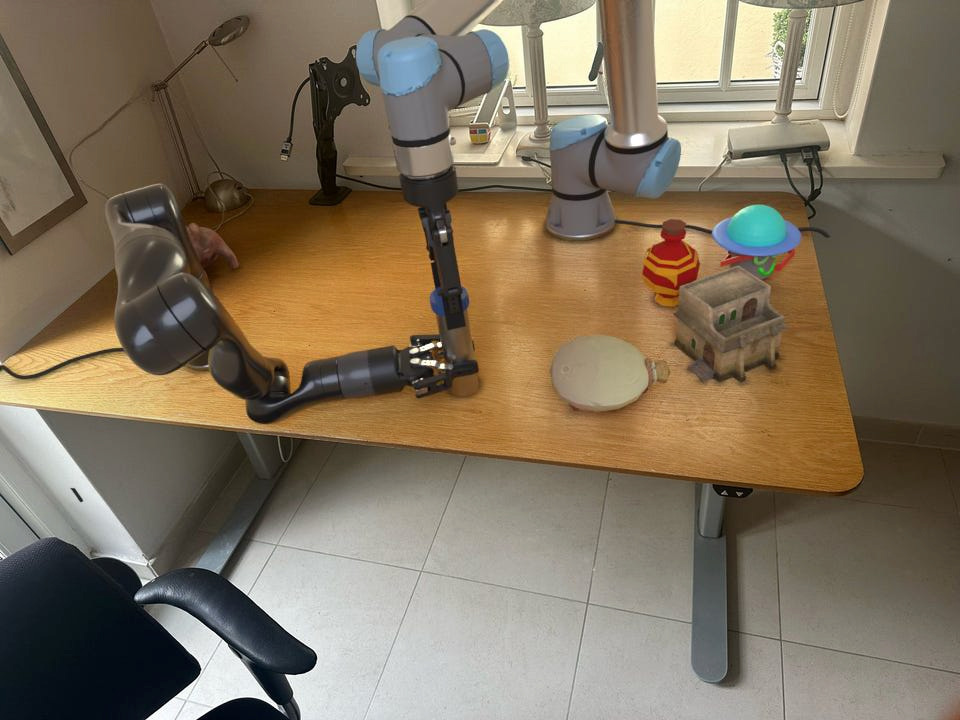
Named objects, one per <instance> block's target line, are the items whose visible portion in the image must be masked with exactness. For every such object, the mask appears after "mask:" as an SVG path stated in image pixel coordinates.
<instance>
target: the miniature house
mask: <svg viewBox="0 0 960 720" xmlns="http://www.w3.org/2000/svg"><path fill="white" fill-rule="evenodd" d="M771 291H772V287H771V285H770V284H768V283H766V282H765V281H764V280H763V279H761V280H760V279H759V278H757V277H756V276H754V275H753V274H751V273H749V272H748V271H746V270H745V269H743V268H742V267H740V266H735V267H732V268H730V269H729V268H726V269H724V270H722V271H719V272H716V273H713V274H710V275H707V276H704V277H702V278H699V279H697V280H696V281H693V282H691V283H688V284H685V285H682V286H680V290H679V303H678V305H677V310H676V311H675V312H673V313H672V314H673V315H674V316H675V317H676V331H675V339H674V345H675V346H676V347H677V348H678V349H679V350H680V351H682V353H684V354H685V355H686V356H688V357H689V358H690V359H691V360H692V361H693V362H692V363H691V364H690V365H688V366H687V370H688V371H692V372H693V373H694V374H695V375H696V376H698V378H699V379H700V381H701V382H702V383H704V382H705V381H707V380H710V379H712V378H713V379H715V380H716V381H717V382H718V383H722V382H723V381H726V380H728V379H731V378H734V379H736V380H737V382H740V383H744V382H746V380H747V379H746V378H747V376H746V374H745V372H748V371H751V370H753V369H756V368H758V367H761V366H763V365H764V366H765V367H767V368H768V369H769V370H770V371H773V370H775V369H776V368H777V363H776V360H778V359H779V357H780V353H779V352H780V349H781V348H780V347H781V343H782V337H783V331H784V330H787V329H789V326H788V325H787V323H786V316H785V315H784V314H782V313H781V312H779V311H778V310H776V309H775V308H774V307H773V306H772V304H771Z"/></svg>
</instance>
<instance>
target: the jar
mask: <svg viewBox="0 0 960 720" xmlns="http://www.w3.org/2000/svg"><path fill="white" fill-rule="evenodd" d="M469 317H470V316H469V311H468V308H467V309H466V310H465V311H464V318H465V325H466V326H465V327H461V328H456V329H452V330H448V329H447V325H446V320H445V316H439V315H437V314H435V319H436V325H437V329H438V334H439V335H440V341H441V346H442V350H441V352H442V351H443V356H444V358H443V361H444V364H452V365H453V366H454V363H458V362H463V361H469V360H476V357H475V351H474V349H473V343H472V340H473V338H472V337H473V336H472V330H471V324H470V318H469ZM479 388H480V383H479V377H478V373H475V374H473V375H468V376H462V377H457V378H455V380H453V382H452V388H450V389H449V392H450V393H451V395H453V396H456V397H459V398H465V397H469V396H472V395H474V394H475V393H476V392H477V391H478V390H479Z"/></svg>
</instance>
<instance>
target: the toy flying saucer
mask: <svg viewBox="0 0 960 720" xmlns="http://www.w3.org/2000/svg"><path fill="white" fill-rule="evenodd" d="M798 228H799V227H797V226H796V225H795V224H794V223H791V222H790V221H788V220H786V219H784V217H783V216H782V214H780V212H779V211H778V210H776V209H775V208H774V207H772V206H769V205H767V204H752V205H747V206H745V207H743V208H742V209H740V210H739V211H737V212H736V213H735V214H734V215H733V216H730V217H727V218H725V219H723V220H721V221H719V222H718V223H717V224H716V225H715V226H714V227H713V229H712V230H713V231H712V234H711V237H712V239H713V241H714V242H715V243H716V244H717V245H718V246H719V247H721V248H722V249H724V250H726V251H727V255H726V256H725V257H724V258H723V259H721V261H720V266H719V267H725V266H728V269H730V268H732V267H735V266H740V267H742V268H743V269H745V270H746V271H748V272H749V273H751V274H753V275H754V276H756V277H757V278H759V279H760V280H765V279H767V278H769V277H770V276H772V274H773V273H774V271H775V272H777V273H779V272H781V271H783V269H784V268H785V266H787V264H788V263H789V262H790V261H791V260H792V259H793V257H795V253H796V249H795V248H796V247H797V246H799V244H800V243H801V241H802V232H801V231H799V230H798ZM785 253H787V254H788V255H787V256H786V257H785V258H784V259H783V260H782V261H781V262H780V263H778V264H777V263H776V261H775V260H776V258H779V257H780V256H781V255H782V254H785Z"/></svg>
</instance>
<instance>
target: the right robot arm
mask: <svg viewBox="0 0 960 720" xmlns="http://www.w3.org/2000/svg"><path fill="white" fill-rule="evenodd" d="M503 1H504V0H422V1H421V2H420V3H419V4H418V5H417V6H415V7H414V8H413V9H412V10H411V11H409V12H408V13H407V14H406V15H404V17H403V18H402V19H400V20H399V21H398V22H397V23H395V25H393V26H392V27H391V28H389V29H386V28H378V29H372V30H369V31H367V32H365V33H364V34H363V35H362V36H361V38H360V39H359V40H358V43H357V46H356V51H355V62H356V67H357V69H358V72H359V74H360V76H361V77H362V78H363V80H364V81H365V82H366V83H369V85H371V86H376V87H379V88H380V90H381V94H382V99H383V102H384V108H385V113H386V117H387V121H388V126H389V131H390V137H391V145H392V149H393V154H394V160H395V165H396V166H395V167H396V170H397V171H398V172H399V176H398V178H399V182H400V188H401V193H402V198H403V200H404V202H405V203H406V204H408V205H410V206H412V207H417V212H418V216H419V219H420V221H421V226H422V230H423V232H424V233H423V234H424V238H425V245H426V246H425V249H426V250H427V252H428V259H429V260H430V261H431V262H430V268H431V273H432V280H433V285H434V290H435V289H436V288H438V287H440V286H441V290H440V291H437V295H438V296H441V297H442V303H443V308H444V314H445V320H446V325H447V329H448V330H452V329H456V328H461V327H465V326H466V325H465V318H464V312H463V305H462V299H461V294H462V293H463V292H462V291H463V289H462V287H461V286H462V283H461V282H462V281H461V276H460V271H459V265H458V259H457V254H456V248H455V243H454V242H455V241H454V229H453V228H452V215H451V211H450V209H448V206H447V204H448V202H449V201H452V200H453V199H455V198H456V197H457V195H458V193H459V183H458V182H459V181H458V177H457V168H456V166H455V165H454V163H455V157H454V150H453V147H452V146H455V145H456V144H457V139H456V137H454V136H451V126H450V118H449V117H450V116H449V112H451V111H452V110H454V109H456V108H458V107H460V106H462V105H464V104H467V103H468V102H470V101H472V100H475V99H477V98H479V97H482V96H484V95H485V96H486V95H487V94H489V93H490V92H491V91H492V90H494V89H495V88H497V87H498V86H501V85H502V84H503V83H504V81H505V80H506V79H507V77H508V74H509V70H510V55H509V51H508V48H507V46H506V44H505V42H504V41H503V39H502V38H501V37H500V35H499V34H497V33H496V32H494V31H492V30H490V29H485V28H484V29H479V30H474V29H475V28H476V27H477V26H479V24H480V23H481V22H482V21H484V20H485V18H487V16H488V15H489V14H491V13H492V12H493V11H494V10H495V9H497V7H498V6H499V5H500V4H501V3H502V2H503ZM597 2H598V12H599V19H600V20H599V22H600V31H601V40H602V50H603V60H604V68H605V77H606V87H607V95H608V106H609V115H610V124H609V122H608V120H607V118H606V117H605V116H603V115H599V114H586V115H579V116H574V117H571V118H568V119H565V120H562V121H560V122H558V123H557V124H555V125H554V126H553V128H551V130H550V132H549V147H548V150H549V159H550V174H551V175H550V176H551V188H552V189H551V190H552V191H551V193H552V194H551V198H550V202H549V206H548V209H547V213H546V214H545V229H546V232H547V233H548V234H549V236H550V235H551V236H552V237H553V238H556V239H558V240H561V241H567V242H586V241H587V242H588V241H594V240H597V239H600V238H604V237H605V236H607V235H608V234H610V233H611V232H613V230H614V229H615V227H616V224H620V225H628V226H629V225H630V226H636V227H642V228H648V229H649V228H651V229H662V224H655V223H654V224H653V223H645V222H640V221H634V220H633V221H632V220H626V219H625V220H624V219H617V218H616V212H615V209H614V205H613V204H612V200H611V198H610V195H609V192H608V191H610V192H615V193H620V194H624V195H629V196H634V197H636V198H645V199H652V200H653V199H657V198H659V197H661V196H662V195H664V194H665V192H666V191H667V190H668V189H669V187H670V186H671V184H672V182H673V181H674V178H675V176H676V173H677V171H678V168H679V165H680V162H681V161H680V160H681V155H682V145H681V142H680V141H679V140H678V139H677V138H676V137H669V133H668V123H667V121H666V120H665V118H663V117H662V116H660V114H659V104H658V103H659V101H658V83H657V82H658V81H657V63H656V61H657V60H656V46H655V45H656V44H655V43H656V42H655V25H654V23H655V22H654V4H653V0H597ZM543 206H544V210H546V205H543ZM797 228H798V230H799V231H800V232H815V233H818V234H819V235H822V236H823V237H824V238H826V239H827V238H828V239H829V238H831V236H830V235H829V233H828V232H827V231H825V230H824V229H821V228H819V227H813V226H804V227H803V226H802V227H797ZM685 229H688V230H689V229H690V230H694V231H699V232H701V233H705V234H709V235H712V231H713V229H708V228H705V227H702V226H697V225H692V224H686V226H685ZM432 261H433V262H432Z"/></svg>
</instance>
